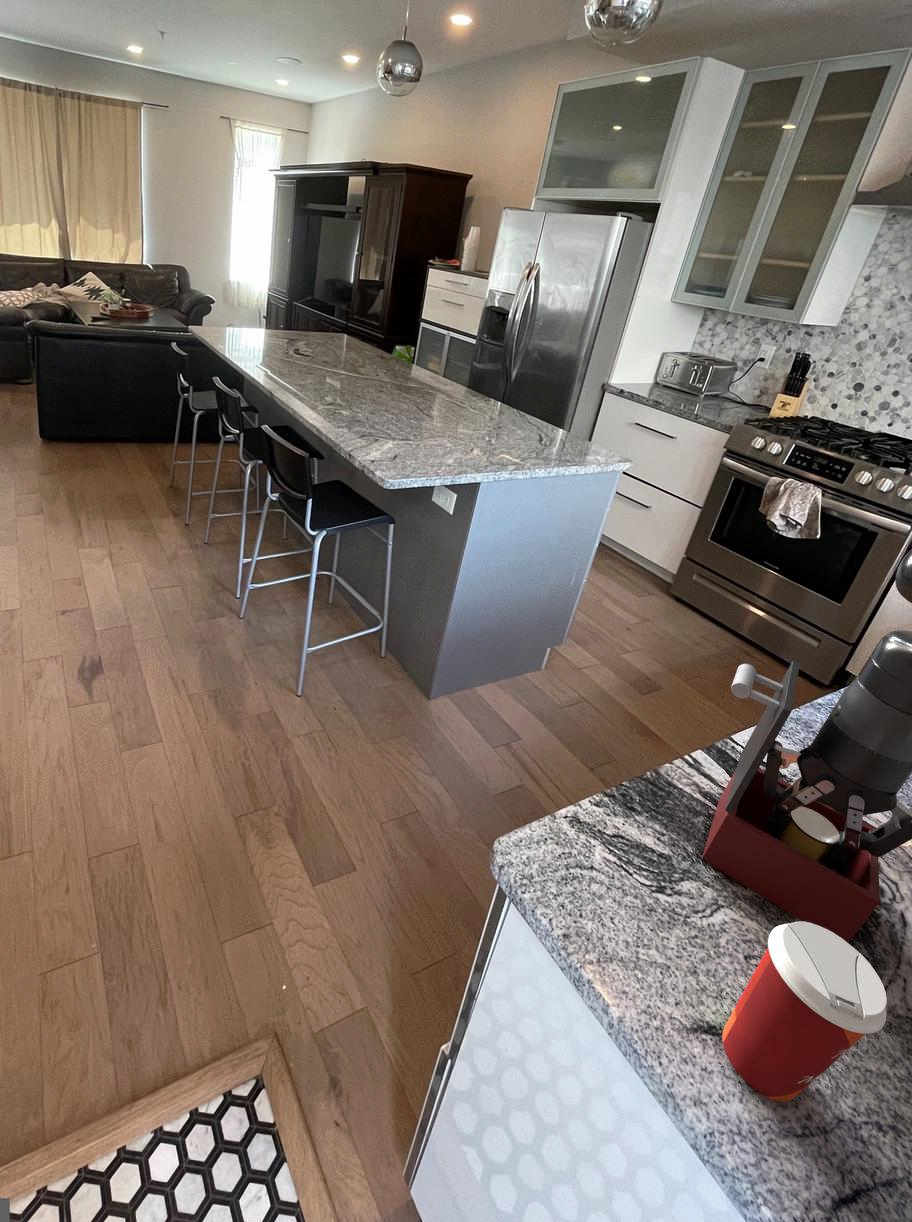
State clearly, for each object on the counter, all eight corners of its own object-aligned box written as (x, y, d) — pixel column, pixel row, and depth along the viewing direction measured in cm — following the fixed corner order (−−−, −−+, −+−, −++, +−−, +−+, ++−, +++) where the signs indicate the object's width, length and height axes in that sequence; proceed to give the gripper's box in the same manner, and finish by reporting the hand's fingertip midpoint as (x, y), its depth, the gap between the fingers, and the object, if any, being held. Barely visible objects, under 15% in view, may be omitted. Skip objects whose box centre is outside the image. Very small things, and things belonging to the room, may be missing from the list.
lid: (800, 663, 70) (749, 641, 73) (791, 712, 62) (734, 685, 64) (746, 758, 76) (701, 734, 79) (731, 814, 68) (681, 786, 70)
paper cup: (821, 1143, 49) (915, 1044, 43) (714, 1093, 51) (791, 992, 45) (792, 1035, 56) (869, 938, 50) (699, 995, 58) (763, 897, 52)
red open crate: (844, 876, 73) (877, 829, 69) (841, 951, 64) (880, 902, 61) (716, 804, 80) (741, 758, 77) (698, 863, 71) (726, 815, 68)
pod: (823, 848, 70) (840, 824, 69) (821, 876, 67) (839, 851, 65) (777, 822, 73) (792, 799, 71) (772, 848, 69) (788, 823, 68)
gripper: (965, 752, 62) (877, 868, 69) (797, 677, 69) (733, 789, 76) (975, 795, 56) (878, 917, 63) (791, 709, 64) (723, 826, 71)
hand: (799, 846), depth 70 cm, fingers closed on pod, 4 cm apart
